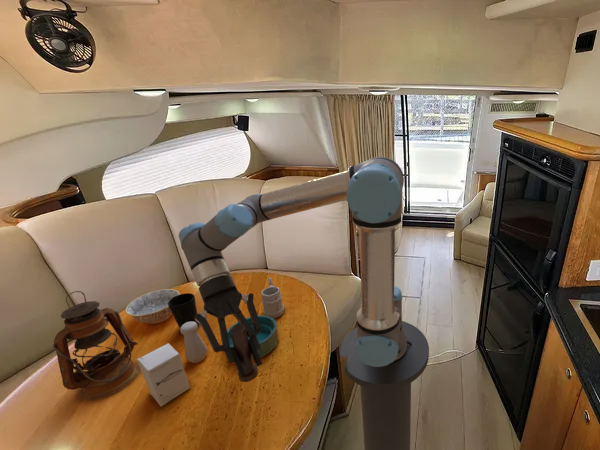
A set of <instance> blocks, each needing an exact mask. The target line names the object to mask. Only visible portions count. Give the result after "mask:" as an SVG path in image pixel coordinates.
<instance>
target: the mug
mask: <svg viewBox="0 0 600 450" xmlns="http://www.w3.org/2000/svg"><path fill="white" fill-rule="evenodd" d="M267 280H268V287H265V288H264V289H262V290H261V293H260V294H261V304H262V313H263V316H268V317H271V318H273V319H277V318H280V317H281V316H282V315H284V314H285V304H284V303H283V296H282V293H281V290H280V288H279V287H278V286H276V285H274V283H273V278H272V277H268V278H267Z"/></svg>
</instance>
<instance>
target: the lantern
mask: <svg viewBox="0 0 600 450" xmlns="http://www.w3.org/2000/svg"><path fill="white" fill-rule="evenodd" d="M74 293H81V294H82V295H83V297H84V302H80V303H76V304H75V305H73V306H70V304H69V303H68V298H69V296H70V295H73V294H74ZM65 302H66V304H67V306H68V308H66V309H65V310H63V311H62V312H61V314H60V317H61V319H64V321H63V324H64V328H63V329H61V330H60V331H59V332H57V334H56V335H55V336H54V339H53V344H52V348H53V349H54V350H55V352H56V357H57V362H58V367H59V368H58V369H59V371H60V372H59V373H60V375H61V380H62V385H63V386H64V388H65V389H66V390H70V391H74V390H78V389H80V390H79V397H80V399H82V400H83V401H97V400H98V401H99V400H102V399H104V398H108V397H110V396H113V395H114V394H116V393H119V392H120V391H122V390H123V389H125V388H127V387H128V386H129V385H130V384H131V383H132V382H133V381H135V379H136V378H137V376H138V375H139V372H140V366H139V365H137V364H136V363H134V362H133V360H132V352H133V351H134V349H135V346H137V345H139V344H138V342H137V341H135V340H134V338H133V337H132V335H131V333H130V332H129V330H128V329H127V328H126V326H125V325H124V323H123V320H122V318H121V315H120V312H118V311H117V310H114V309H112V308H108V307H106V308H105V307H104V308H102V309H100V308H99V307H100V305H101V304H100V302H99V301H96V300H91V301H87V299H86V294H85V293H84V292H83V291H81V290H75V291H72V292H71V293H69V294H67V295H66V297H65ZM108 325H110V326H111V327H112V329H113V330H114V332H115V333H116V334H117V335H116V334H115V333H114V332H112V331H111V329H109V328H106V327H107V326H108ZM112 335H113V336H115V341H114V342H113V344H112V347H108V346H104V348H105V349H108V350H104V351H102V352H99V353H97V354H95V355H86V354H87V352H88V350H89V349H92V348H103V346H102V345H101V344H103V343H105V342H106V341H108V340H109V338H110V337H111V336H112ZM118 337H119V338H118ZM118 339H120V340H121V342H122V343H123V345H124V347H123V352H122V353H121V351H119V349H116V347H117V345H118ZM68 340H70V341H71V340H72V341H73V340H74V343H73V344H74V346H73V347H74V349H75V350H73V351H72V355H73V356H74V357H76V358H72V357H71V353H70V349H69V344H68ZM80 350H81V351H82V350H84V352H83V354H82V355H79V354H77V353H78V352H80ZM78 358H81V362H79V360H78ZM84 358H89V359H87V361H85V362H84ZM81 363H82V364H81ZM74 370H75V371H74Z"/></svg>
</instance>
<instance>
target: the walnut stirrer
mask: <svg viewBox="0 0 600 450" xmlns="http://www.w3.org/2000/svg"><path fill="white" fill-rule="evenodd" d="M230 334H231V338H232V342H233V345H234V347H235V350H236V352H237V355H238V357H239V360H240V362H241V364H242V367H243V369H244V372H245V373H244V374H243V375H241V376H240V374H239V372H238V371H237V377H238V380H239V381H240V382H241V383H249V382H252V381H254V379H256V377H258V375H259V366H258V367H257V365H256V363H255V361H254V360H253V358H252V353H251V349H250V345H249V340H248V336H247V332H246V328H245V326H244V325H236V326H234V327H233V328H231V330H230Z"/></svg>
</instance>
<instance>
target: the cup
mask: <svg viewBox="0 0 600 450" xmlns="http://www.w3.org/2000/svg"><path fill="white" fill-rule="evenodd" d="M168 305H169V308H170V310H171V312H172V314H171V315H172V316H173V318H174V320H175V322H176V324H177V326H178V329H180V328H181V326H182V325H183V324H185V323H187V322H190V321H192V322H196V321H195V315H196V314H198V309H197V308H198V307H197V304H196V297H195V294H193V293H190V292H187V293H186V292H185V293H180V295H178V296H175V297H173V298H172V299H170V300H169V302H168ZM196 323H197V322H196ZM197 326H198V328H199V327H200V324H199V323H197Z"/></svg>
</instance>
